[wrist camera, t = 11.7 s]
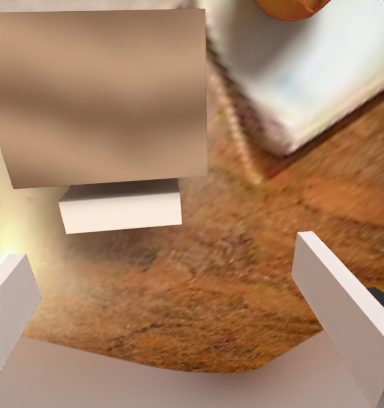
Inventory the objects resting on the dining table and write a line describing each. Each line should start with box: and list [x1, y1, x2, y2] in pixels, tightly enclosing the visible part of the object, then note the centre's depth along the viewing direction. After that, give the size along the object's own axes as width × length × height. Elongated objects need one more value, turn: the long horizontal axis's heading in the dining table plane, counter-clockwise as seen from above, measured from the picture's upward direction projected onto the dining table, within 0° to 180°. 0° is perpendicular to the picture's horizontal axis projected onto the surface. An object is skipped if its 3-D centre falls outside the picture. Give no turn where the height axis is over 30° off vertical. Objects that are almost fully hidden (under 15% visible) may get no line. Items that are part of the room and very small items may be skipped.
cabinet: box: [0, 9, 207, 189], centre depth 26 cm, size 17×14×14 cm
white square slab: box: [58, 178, 182, 234], centre depth 29 cm, size 4×10×12 cm, turn 92°
